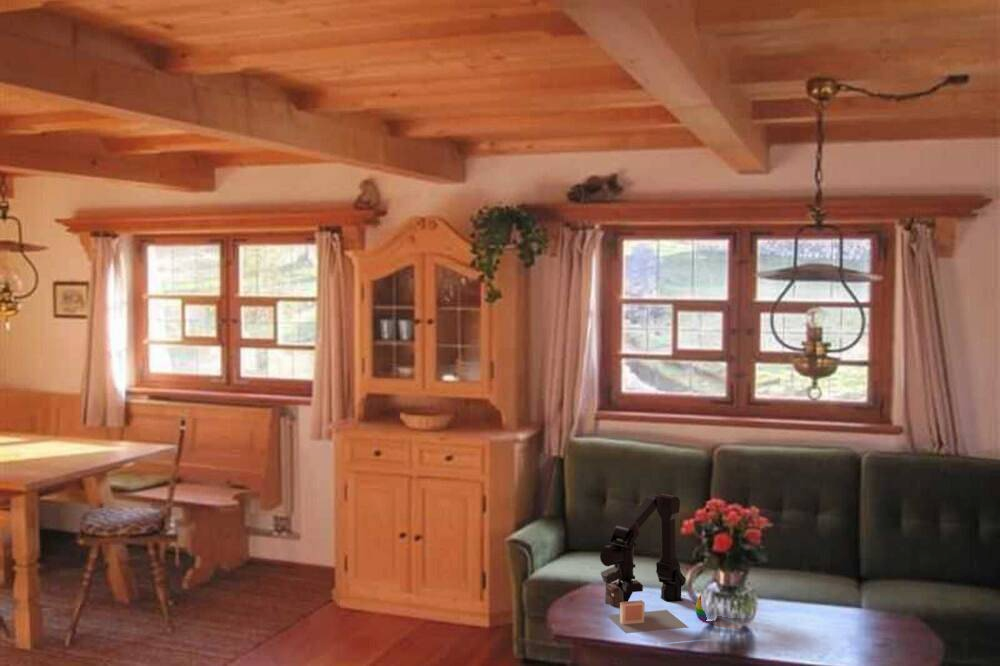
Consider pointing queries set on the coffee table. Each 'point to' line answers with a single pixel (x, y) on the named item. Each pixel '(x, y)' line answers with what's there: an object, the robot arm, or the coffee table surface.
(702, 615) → the decorative egg
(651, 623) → the mat
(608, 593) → the box
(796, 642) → the coffee table surface
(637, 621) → the plaque
